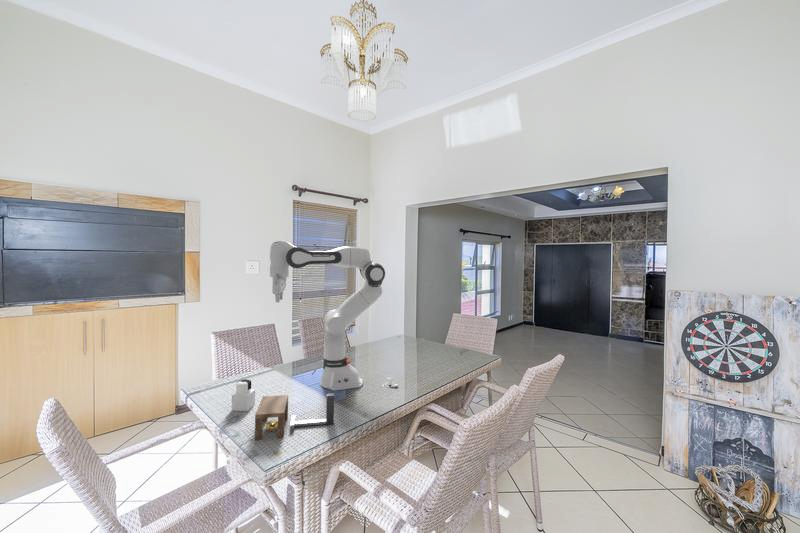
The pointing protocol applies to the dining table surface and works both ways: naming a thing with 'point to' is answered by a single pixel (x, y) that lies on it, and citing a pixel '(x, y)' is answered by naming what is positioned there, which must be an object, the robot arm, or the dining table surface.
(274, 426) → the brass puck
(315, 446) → the dining table surface
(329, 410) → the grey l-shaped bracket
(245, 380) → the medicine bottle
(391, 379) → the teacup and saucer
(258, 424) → the wooden arch block
